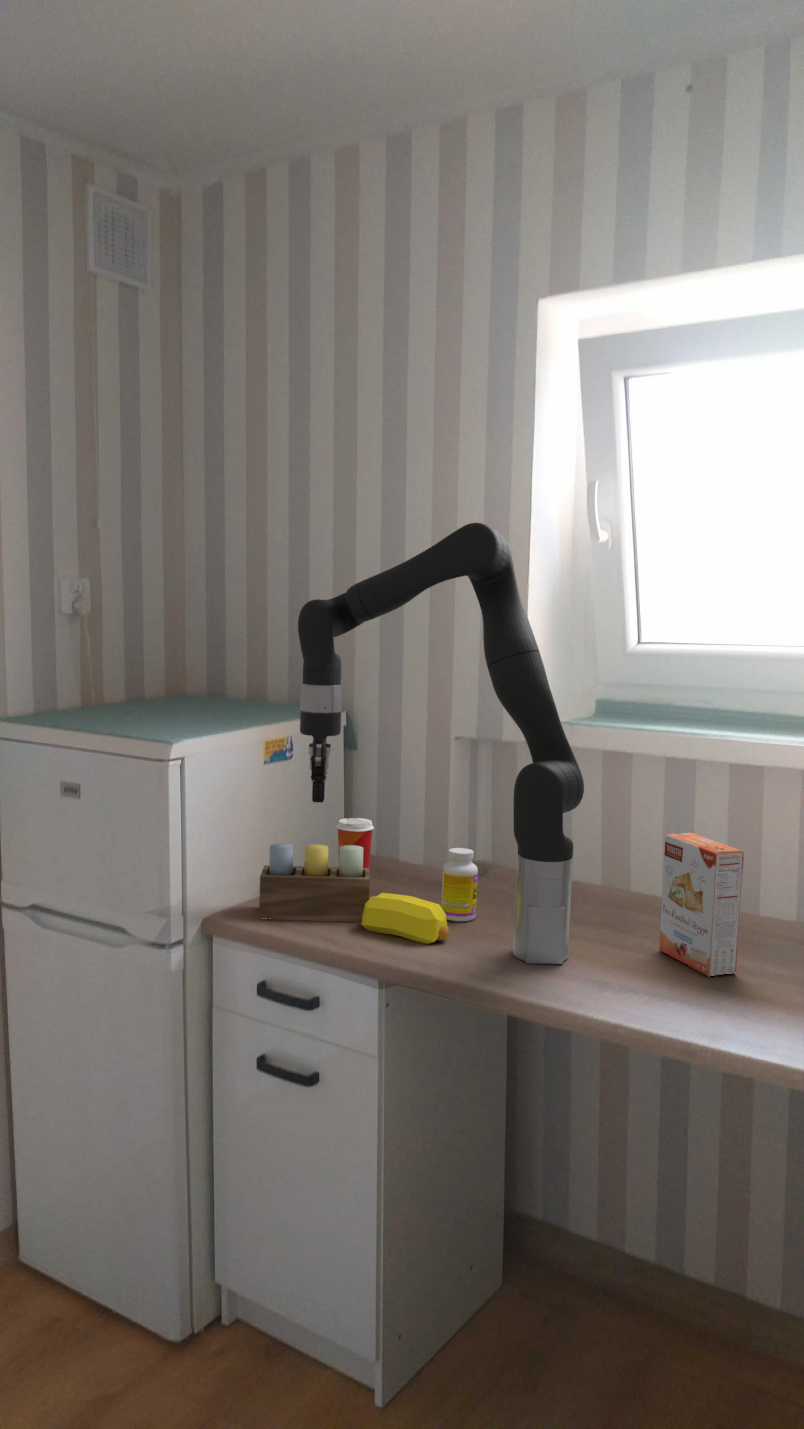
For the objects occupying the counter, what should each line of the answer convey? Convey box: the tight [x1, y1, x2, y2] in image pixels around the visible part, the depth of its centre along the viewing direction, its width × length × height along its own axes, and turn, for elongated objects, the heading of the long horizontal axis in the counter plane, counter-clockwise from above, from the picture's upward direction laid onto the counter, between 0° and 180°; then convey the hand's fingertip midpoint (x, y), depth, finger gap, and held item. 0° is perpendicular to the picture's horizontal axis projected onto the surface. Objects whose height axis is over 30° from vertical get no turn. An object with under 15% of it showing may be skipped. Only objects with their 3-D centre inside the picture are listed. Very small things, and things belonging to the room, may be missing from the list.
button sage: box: [338, 845, 363, 877], centre depth 197 cm, size 4×4×6 cm
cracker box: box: [658, 832, 745, 977], centre depth 176 cm, size 14×6×21 cm, turn 21°
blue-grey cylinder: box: [268, 843, 294, 875], centre depth 196 cm, size 4×4×6 cm
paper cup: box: [336, 817, 375, 869], centre depth 216 cm, size 8×8×14 cm
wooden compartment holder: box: [258, 865, 371, 923], centre depth 197 cm, size 8×20×8 cm, turn 92°
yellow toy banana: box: [360, 892, 450, 945], centre depth 187 cm, size 18×7×8 cm
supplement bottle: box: [440, 847, 479, 923], centre depth 198 cm, size 7×7×13 cm
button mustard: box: [303, 843, 330, 876], centre depth 196 cm, size 4×4×6 cm
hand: (318, 801), depth 195 cm, fingers closed
